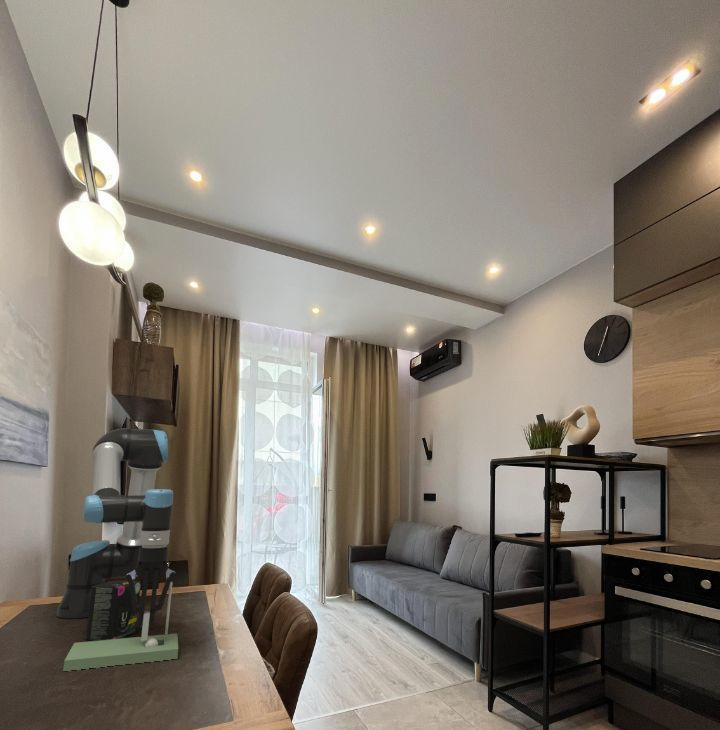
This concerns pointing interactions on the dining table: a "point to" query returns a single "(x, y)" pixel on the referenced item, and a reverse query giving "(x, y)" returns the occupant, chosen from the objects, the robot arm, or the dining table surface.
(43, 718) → the dining table surface
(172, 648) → the mini golf green
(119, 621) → the tampon box
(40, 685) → the dining table surface
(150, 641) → the ball
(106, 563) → the robot arm
